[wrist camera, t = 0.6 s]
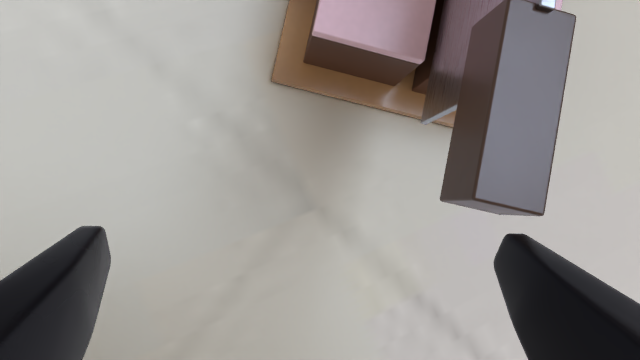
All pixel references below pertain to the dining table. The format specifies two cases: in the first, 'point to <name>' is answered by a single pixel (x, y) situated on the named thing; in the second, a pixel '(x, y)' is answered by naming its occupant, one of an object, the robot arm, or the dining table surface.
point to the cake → (377, 38)
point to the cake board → (337, 83)
